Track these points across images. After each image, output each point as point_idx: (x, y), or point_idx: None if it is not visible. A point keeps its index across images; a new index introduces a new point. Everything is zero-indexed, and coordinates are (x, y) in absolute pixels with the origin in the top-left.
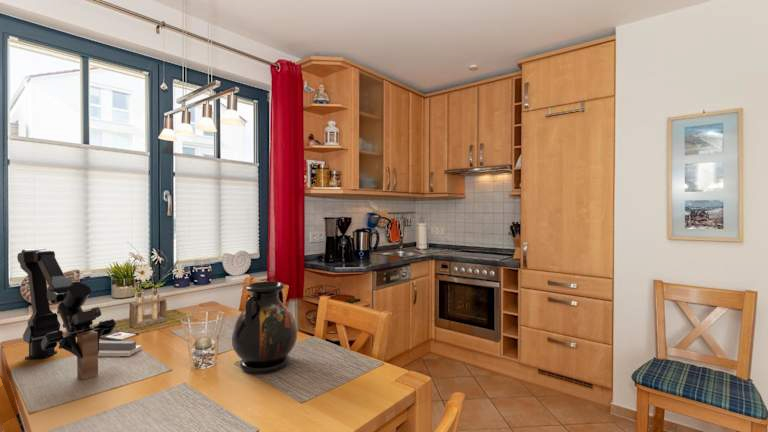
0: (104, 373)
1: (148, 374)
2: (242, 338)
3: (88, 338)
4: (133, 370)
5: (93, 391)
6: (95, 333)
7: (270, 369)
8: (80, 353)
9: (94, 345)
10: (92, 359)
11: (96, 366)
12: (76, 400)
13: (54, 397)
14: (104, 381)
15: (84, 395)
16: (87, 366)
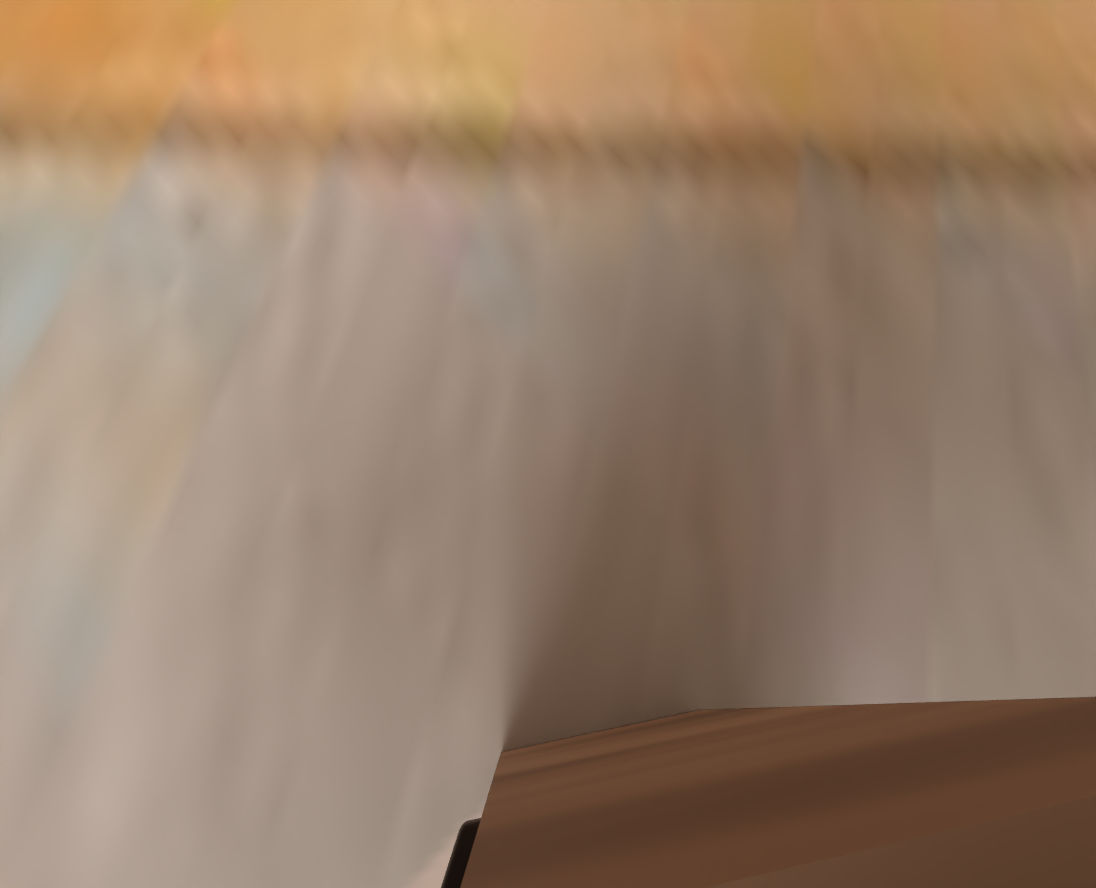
0: (412, 756)
1: (51, 222)
2: None
3: (1002, 739)
4: (90, 521)
5: (668, 224)
6: (642, 880)
7: None
8: None
9: (606, 777)
10: (613, 746)
11: (526, 754)
12: (837, 136)
13: (1026, 387)
14: (503, 425)
15: (759, 194)
16: (688, 721)
